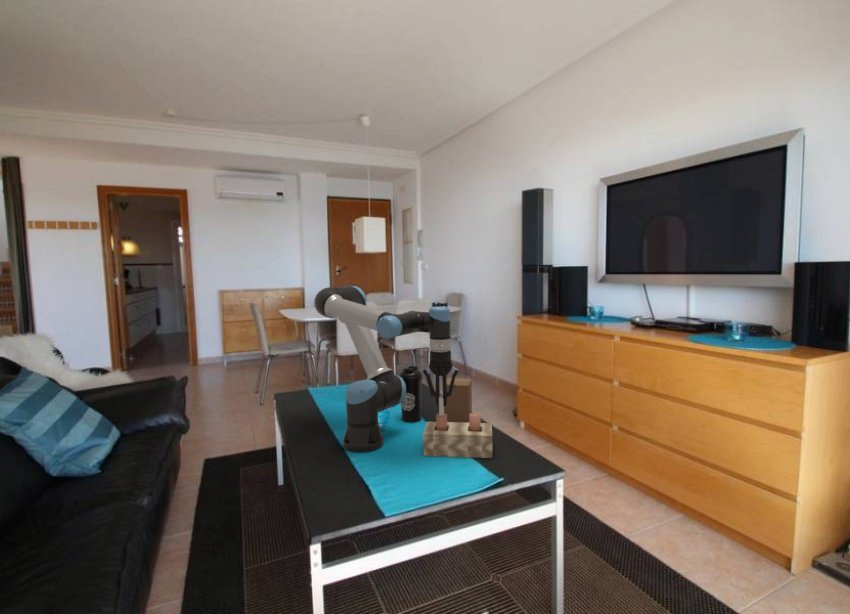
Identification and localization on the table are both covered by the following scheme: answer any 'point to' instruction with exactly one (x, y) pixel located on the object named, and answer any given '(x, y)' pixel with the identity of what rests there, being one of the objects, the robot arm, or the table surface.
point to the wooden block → (459, 401)
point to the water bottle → (411, 394)
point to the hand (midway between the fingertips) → (441, 414)
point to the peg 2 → (475, 422)
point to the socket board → (458, 440)
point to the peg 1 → (441, 422)
